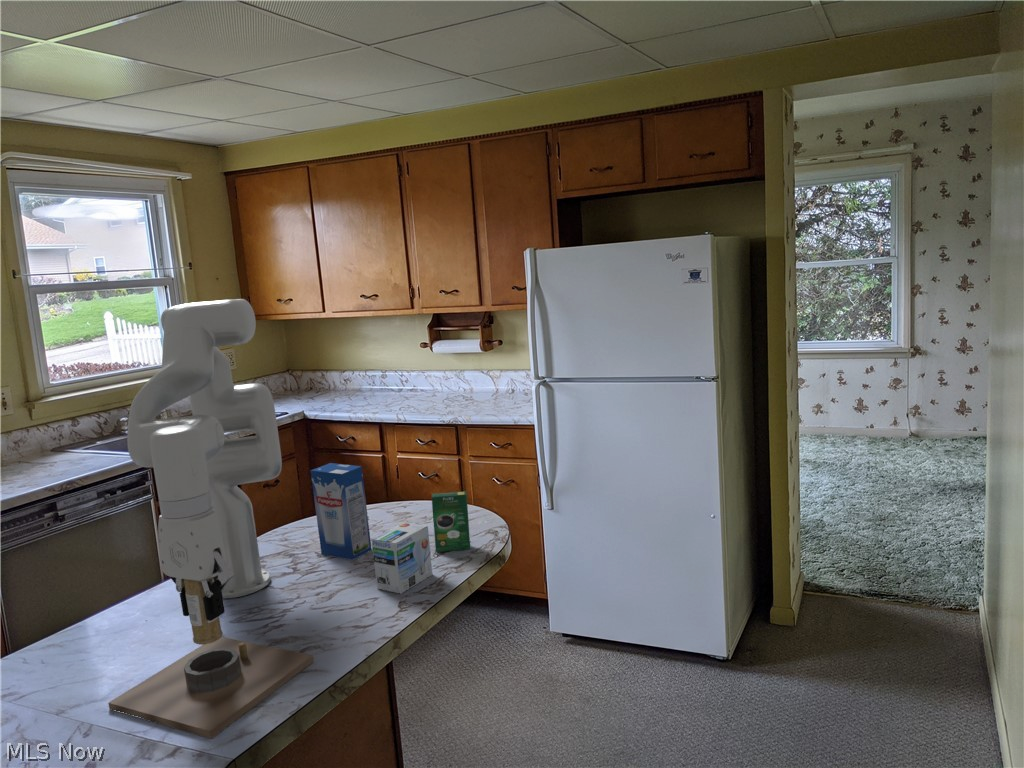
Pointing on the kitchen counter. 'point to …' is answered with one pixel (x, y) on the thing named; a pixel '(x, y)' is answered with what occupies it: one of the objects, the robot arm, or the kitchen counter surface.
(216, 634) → the sprinkles bottle
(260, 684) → the collar board
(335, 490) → the milk carton
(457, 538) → the coffee box
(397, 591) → the light bulb box
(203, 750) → the kitchen counter surface
